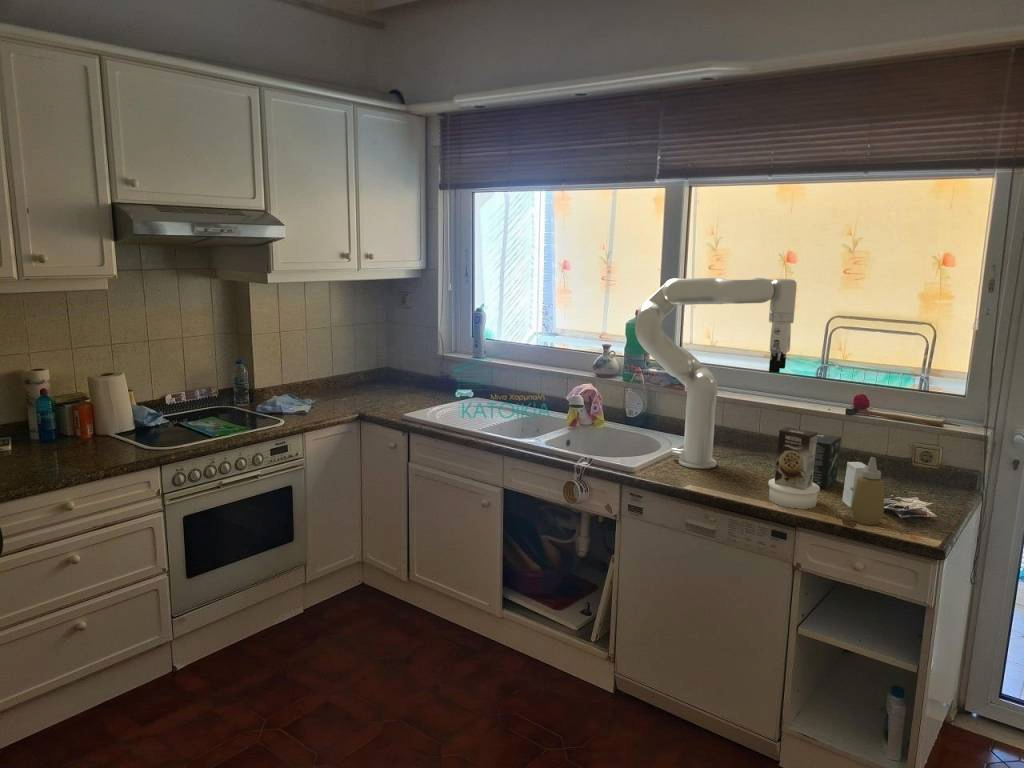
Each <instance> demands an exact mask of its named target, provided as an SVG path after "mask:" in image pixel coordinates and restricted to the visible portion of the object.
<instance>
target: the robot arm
mask: <svg viewBox="0 0 1024 768" xmlns="http://www.w3.org/2000/svg"><path fill="white" fill-rule="evenodd" d="M797 287H798V285H797V282H796V280H794V279H789V278H778V279H777V278H776V279H771V278H763V277H754V278H752V279H726V278H721V277H720V278H719V277H699V278H694V277H693V278H679V277H678V278H677V277H673V278H670V279H668V280H667V281H665V283H664V284H663V285H662V286H661V287H660V288H659V289H658V290H657V291H655V292H654V293H653V294H652V295H651V296H650V297H649V298H648V299H647V300H646V301H644V302H643V303H642V304H641V306H640V307H639V308H638V311H637V314H636V315H637V317H636V320H635V327H634V332H635V336H636V337H635V338H636V339H637V341H638V344H639V345H640V347H642V348H643V350H644V351H645V352H647V354H648V355H649V356H650V357H652V359H654V360H655V362H657V364H659V365H660V366H661V367H662V368H663V369H664V370H665V371H666V373H667V374H668V375H669V376H671V377H673V378H676V379H677V380H678V381H679V382H680V383H681V384H682V385H683V386H685V388H686V391H687V392H686V393H687V394H686V404H685V405H686V406H685V417H684V418H685V422H684V423H685V424H684V438H683V439H684V440H683V441H684V442H683V448H681V449H680V448H674V447H672V448H671V454H672V455H673V456H679V458H678V463H679V465H681V466H683V467H687V468H691V469H698V470H700V469H701V470H704V469H706V470H707V469H711V468H715V467H716V466H717V460H716V459H714V458H713V451H714V450H713V449H714V435H715V422H716V420H715V418H716V417H715V416H716V406H717V405H716V404H717V399H718V389H719V388H718V382H717V380H716V377H714V374H713V373H712V372H711V371H710V370H709V369H708V368H707V367H706V366H705V365H704V364H703V363H701V361H700V360H698V359H697V358H696V357H695V356H694V355H693V353H691V352H690V351H689V350H688V349H686V348H684V347H681V346H679V345H678V344H676V343H675V342H674V341H673V340H672V339H671V337H669V336H668V335H667V334H666V333H665V332H664V331H663V329H662V323H663V321H664V318H666V316H668V315H669V314H670V313H671V312H673V310H674V309H675V308H677V307H678V306H680V305H681V306H686V305H688V306H689V305H728V304H731V305H734V304H764V303H767V302H768V301H770V303H769V315H768V323H771V327H770V329H771V330H770V337H769V353H770V357H769V365H768V366H769V367H768V372H769V373H774V374H779V373H780V371H781V369H785V368H786V363H787V353H789V352H790V351H791V333H792V330H791V329H792V324H794V320H795V311H796V310H795V309H796V308H795V307H796V298H797Z"/></svg>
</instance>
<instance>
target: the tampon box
mask: <svg viewBox="0 0 1024 768" xmlns="http://www.w3.org/2000/svg"><path fill="white" fill-rule="evenodd" d="M817 433H818V435H817V443H816V452H815V461H814V471H813V481H812V482H813V483H815V484H817V485H818V486H819V487H820V489H824V490H827V489H828V488H830V487H831V486H832V485H833V484H835V483H836V482H837V479H838V469H839V460H840V459H839V458H840V450H841V441H842V437H841V436H836V435H831V434H824V433H819V432H817Z"/></svg>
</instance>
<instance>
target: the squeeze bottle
mask: <svg viewBox="0 0 1024 768" xmlns="http://www.w3.org/2000/svg"><path fill="white" fill-rule="evenodd" d="M866 466H867V469H863V470H862V476H860V477H859V478H858V479H857V483H856V487H855V492H854V496H853V501H852V505H851V511H852V515H853V516H852V517H853V520H854V521H855V522H856V523H859V524H861V525H867V526H875V525H878V524H879V522H880V520H881V518H882V516H883V514H884V513H885V481H884V480H883V479H881V477H882V472H881V470H878V466H877V458H876V457H873V456H871V457H870V459H869V462H868V464H867V465H866Z"/></svg>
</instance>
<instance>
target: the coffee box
mask: <svg viewBox="0 0 1024 768" xmlns="http://www.w3.org/2000/svg"><path fill="white" fill-rule="evenodd" d="M778 431H779V432H778V441H777V442H778V443H777V451H776V462H775V473H774V474H775V475H774V478H775V482H774V483H776V484H780V485H784V486H788V487H793V488H797V489H801V490H806V489H807V488H809V487H811V486H812V481H813V471H814V461H815V452H816V443H817V435H818V433H819V432H816V431H813V430H812V431H810V430H806V429H805V430H804V429H800V428H795V427H789V426H787V427H783V428H781V429H779V430H778Z"/></svg>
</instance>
